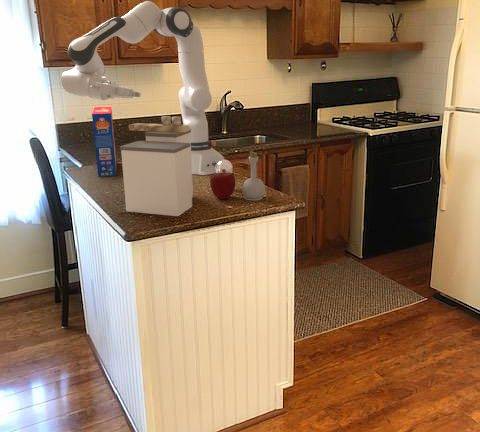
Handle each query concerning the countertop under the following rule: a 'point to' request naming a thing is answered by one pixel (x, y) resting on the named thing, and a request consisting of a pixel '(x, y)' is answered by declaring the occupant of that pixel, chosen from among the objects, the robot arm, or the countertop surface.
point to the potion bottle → (253, 182)
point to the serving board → (162, 125)
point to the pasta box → (104, 141)
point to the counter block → (158, 173)
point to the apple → (222, 184)
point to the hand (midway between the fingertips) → (134, 94)
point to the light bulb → (224, 166)
